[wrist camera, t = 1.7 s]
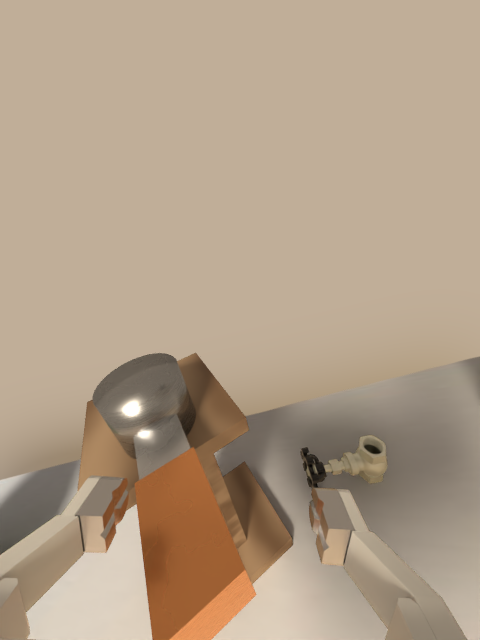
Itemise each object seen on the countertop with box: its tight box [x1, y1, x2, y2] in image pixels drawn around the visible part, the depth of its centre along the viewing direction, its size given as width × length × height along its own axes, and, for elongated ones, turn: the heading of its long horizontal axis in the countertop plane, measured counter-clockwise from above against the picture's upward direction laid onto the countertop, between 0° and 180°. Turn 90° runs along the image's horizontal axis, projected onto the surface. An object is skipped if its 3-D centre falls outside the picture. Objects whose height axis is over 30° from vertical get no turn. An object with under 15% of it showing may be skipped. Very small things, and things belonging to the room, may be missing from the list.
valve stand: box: [78, 353, 293, 584], centre depth 26 cm, size 16×12×26 cm
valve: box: [300, 435, 387, 489], centre depth 34 cm, size 7×7×12 cm
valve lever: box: [93, 353, 256, 640], centre depth 14 cm, size 6×15×5 cm, turn 30°
